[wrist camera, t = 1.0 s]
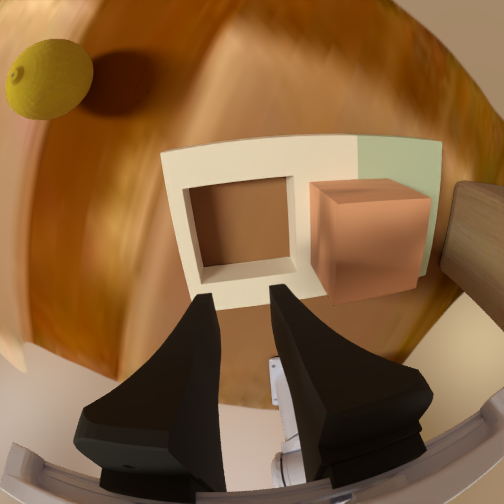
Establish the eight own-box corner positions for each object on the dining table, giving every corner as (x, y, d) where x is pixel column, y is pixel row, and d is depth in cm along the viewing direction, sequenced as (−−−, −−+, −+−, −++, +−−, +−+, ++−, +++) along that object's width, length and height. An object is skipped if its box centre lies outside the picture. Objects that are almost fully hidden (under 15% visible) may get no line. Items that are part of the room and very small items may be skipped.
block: (381, 253, 20) (415, 288, 15) (310, 264, 19) (333, 305, 15) (388, 178, 17) (431, 198, 12) (309, 182, 17) (338, 204, 12)
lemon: (97, 38, 13) (40, 9, 5) (120, 91, 15) (60, 77, 8) (45, 80, 13) (-21, 76, 6) (65, 132, 16) (-4, 145, 8)
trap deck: (411, 262, 23) (425, 275, 21) (197, 294, 23) (194, 312, 20) (423, 138, 18) (442, 141, 16) (168, 149, 17) (160, 153, 15)
